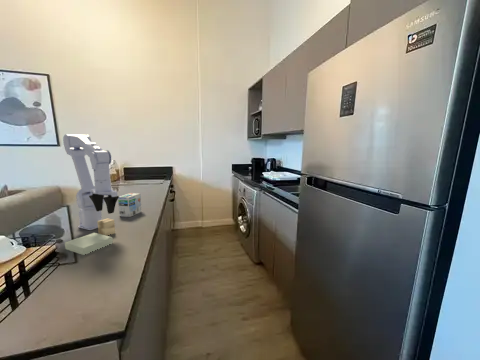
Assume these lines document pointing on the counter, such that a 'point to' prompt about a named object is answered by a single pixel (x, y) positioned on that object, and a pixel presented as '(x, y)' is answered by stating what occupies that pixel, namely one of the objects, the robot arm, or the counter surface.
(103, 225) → the birch block
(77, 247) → the sage box
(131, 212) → the light bulb box
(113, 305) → the counter surface
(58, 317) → the counter surface
